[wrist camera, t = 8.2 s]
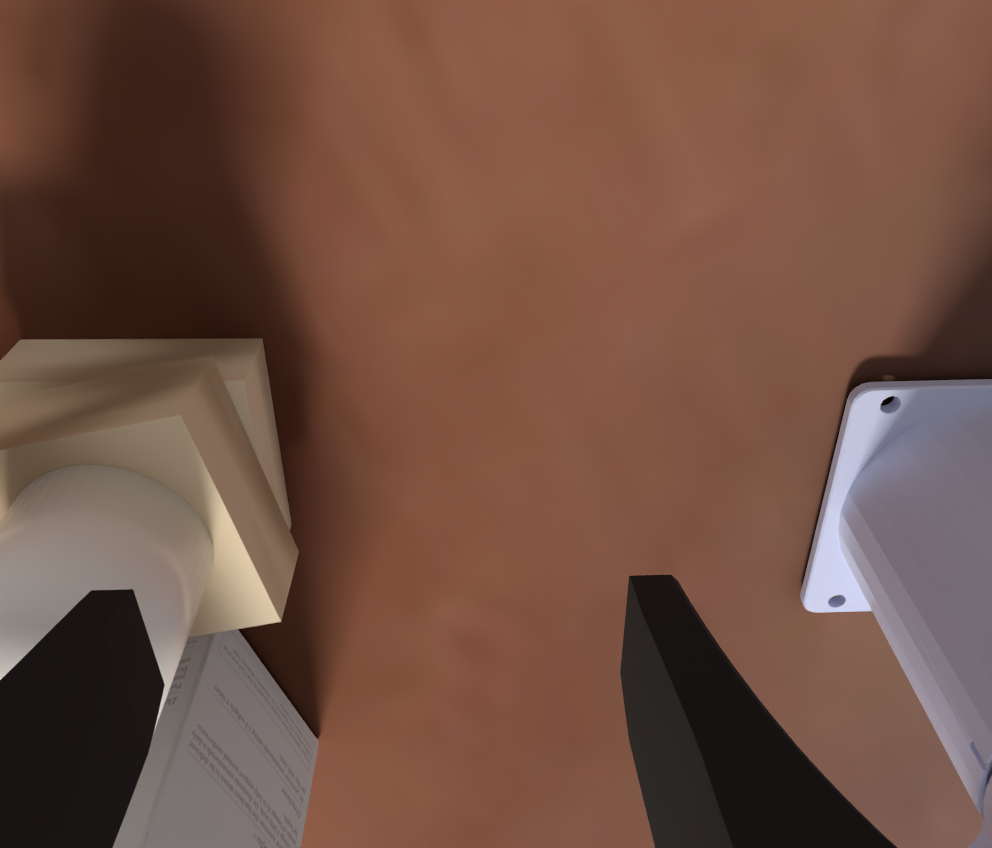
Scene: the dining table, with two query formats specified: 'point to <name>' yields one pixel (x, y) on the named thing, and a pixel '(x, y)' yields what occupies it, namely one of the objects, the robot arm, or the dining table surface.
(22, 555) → the ceramic jar
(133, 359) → the oak slab bottom
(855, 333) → the dining table surface
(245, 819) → the supplement box
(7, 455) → the oak slab top
